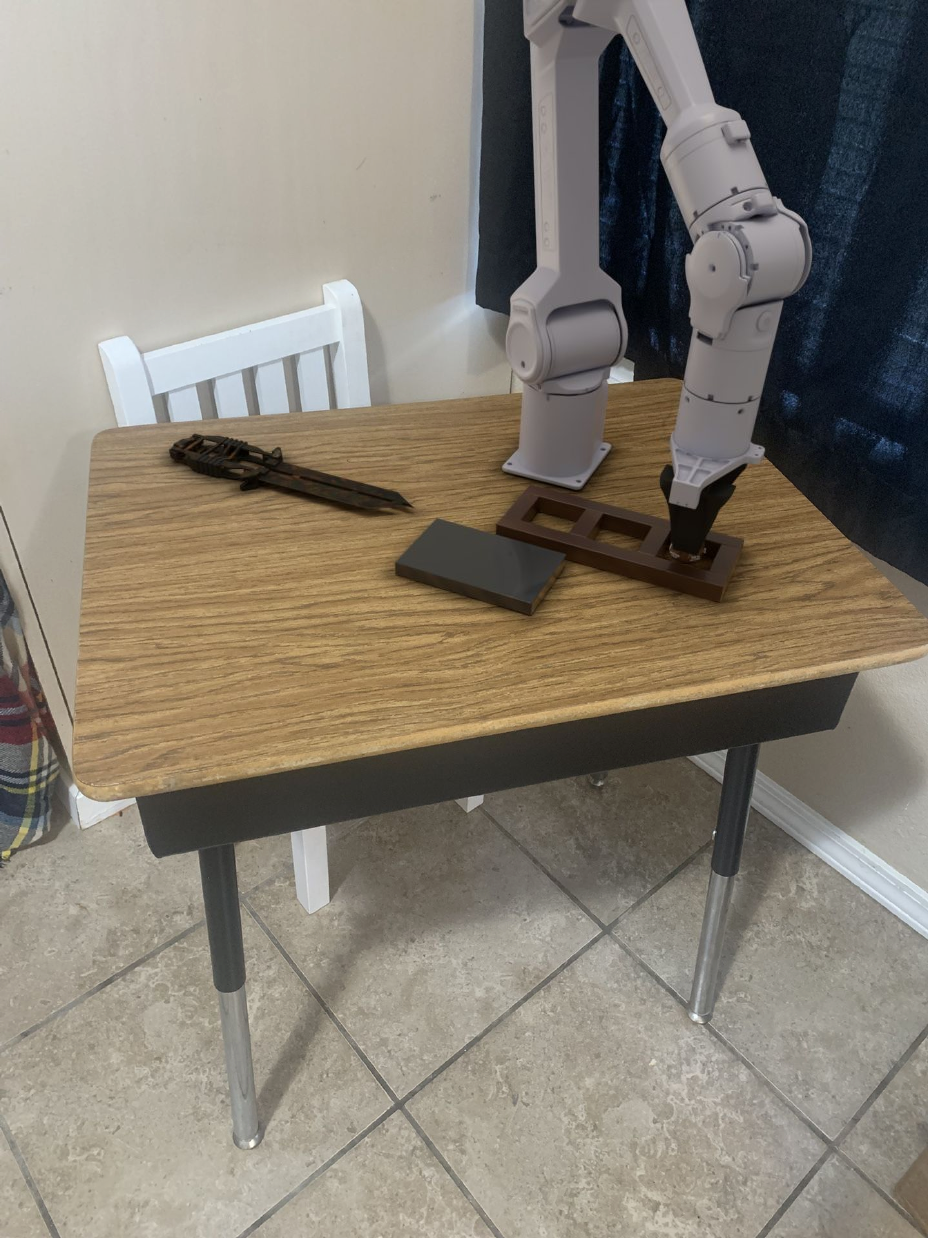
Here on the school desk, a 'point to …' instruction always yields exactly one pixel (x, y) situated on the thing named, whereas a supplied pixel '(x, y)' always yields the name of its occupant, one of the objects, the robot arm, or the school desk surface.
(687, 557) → the chocolate
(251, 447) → the knife
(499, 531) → the rack
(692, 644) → the school desk surface
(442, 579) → the board
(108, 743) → the school desk surface
